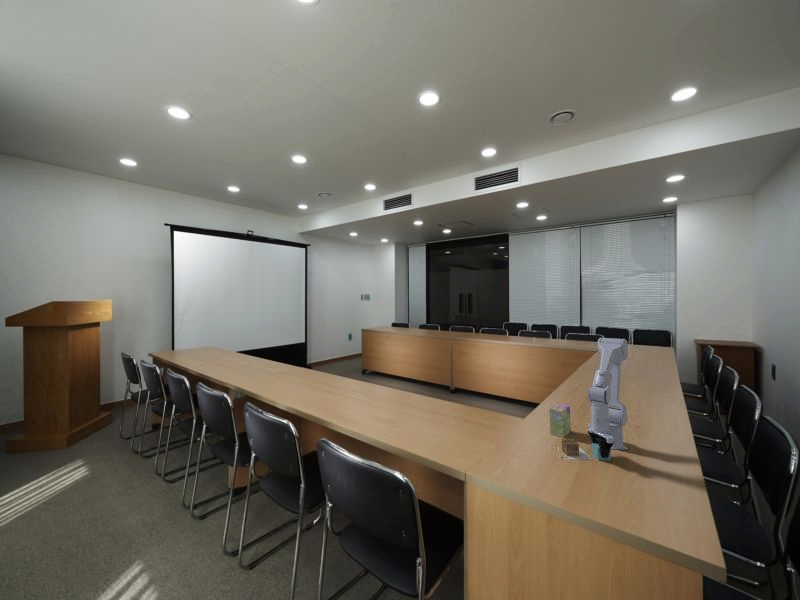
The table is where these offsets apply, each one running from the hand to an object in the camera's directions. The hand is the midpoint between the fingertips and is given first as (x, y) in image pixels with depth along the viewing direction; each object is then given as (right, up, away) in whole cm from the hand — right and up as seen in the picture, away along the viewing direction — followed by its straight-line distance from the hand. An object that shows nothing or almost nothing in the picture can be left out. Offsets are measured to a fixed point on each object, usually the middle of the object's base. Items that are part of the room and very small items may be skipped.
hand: (600, 454), depth 123 cm
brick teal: (0, -1, 0) cm, 1 cm away
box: (-4, -2, +23) cm, 24 cm away
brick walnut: (-10, -2, +4) cm, 11 cm away
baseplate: (-10, -2, +4) cm, 11 cm away
